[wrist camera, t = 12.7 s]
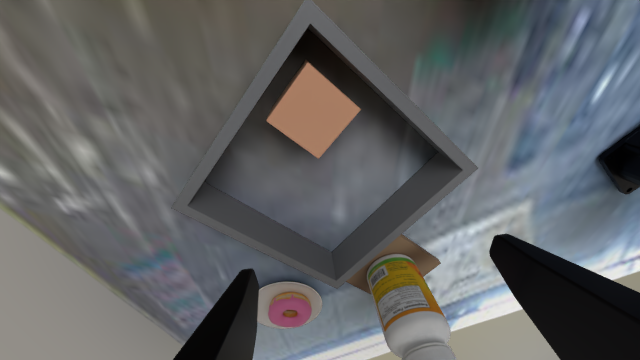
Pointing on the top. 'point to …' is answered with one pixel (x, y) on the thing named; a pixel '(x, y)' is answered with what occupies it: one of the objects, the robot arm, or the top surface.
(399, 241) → the walnut coaster
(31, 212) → the top surface
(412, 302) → the supplement bottle
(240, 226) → the bin rim
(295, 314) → the donut
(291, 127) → the terracotta cube
